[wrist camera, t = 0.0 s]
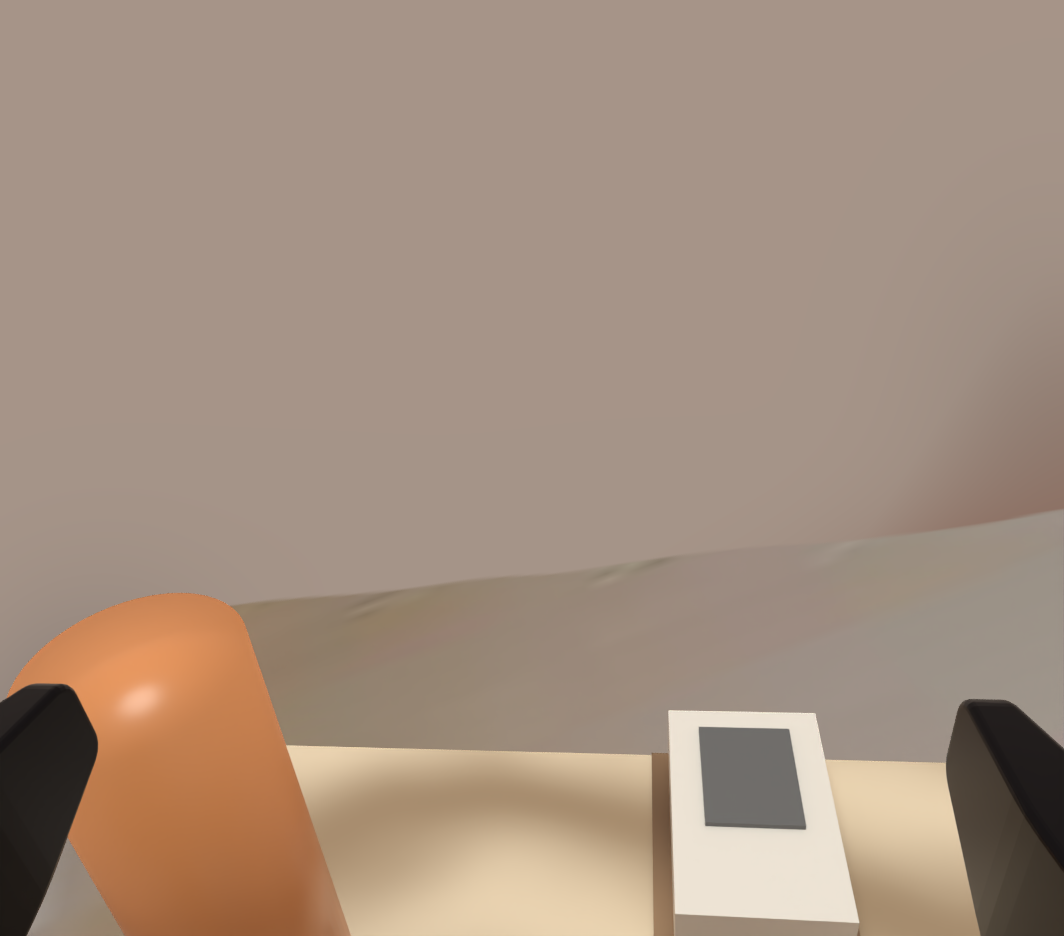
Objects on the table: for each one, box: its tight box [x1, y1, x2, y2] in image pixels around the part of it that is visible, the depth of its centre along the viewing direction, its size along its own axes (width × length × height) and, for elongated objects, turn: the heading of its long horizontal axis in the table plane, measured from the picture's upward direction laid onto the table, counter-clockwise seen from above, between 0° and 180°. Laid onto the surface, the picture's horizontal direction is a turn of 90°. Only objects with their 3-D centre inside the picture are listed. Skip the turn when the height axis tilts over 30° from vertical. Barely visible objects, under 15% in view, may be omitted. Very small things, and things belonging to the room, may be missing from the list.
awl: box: [7, 593, 351, 936], centre depth 17 cm, size 4×4×13 cm
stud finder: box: [669, 710, 859, 936], centre depth 23 cm, size 6×4×3 cm, turn 174°
